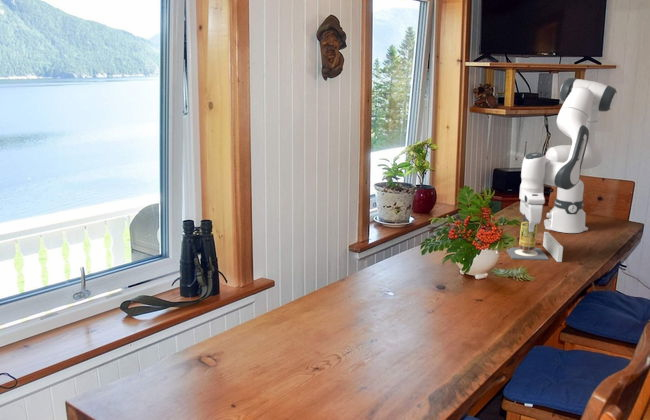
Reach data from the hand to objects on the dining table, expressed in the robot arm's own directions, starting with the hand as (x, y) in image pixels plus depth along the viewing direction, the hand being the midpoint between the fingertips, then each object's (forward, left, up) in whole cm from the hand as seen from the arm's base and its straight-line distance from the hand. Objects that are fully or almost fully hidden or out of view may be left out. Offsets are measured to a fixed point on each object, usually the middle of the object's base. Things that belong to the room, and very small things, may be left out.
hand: (528, 228), depth 245 cm
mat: (0, 0, -11) cm, 11 cm away
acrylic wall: (-2, +10, -11) cm, 15 cm away
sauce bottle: (0, 0, -9) cm, 9 cm away
